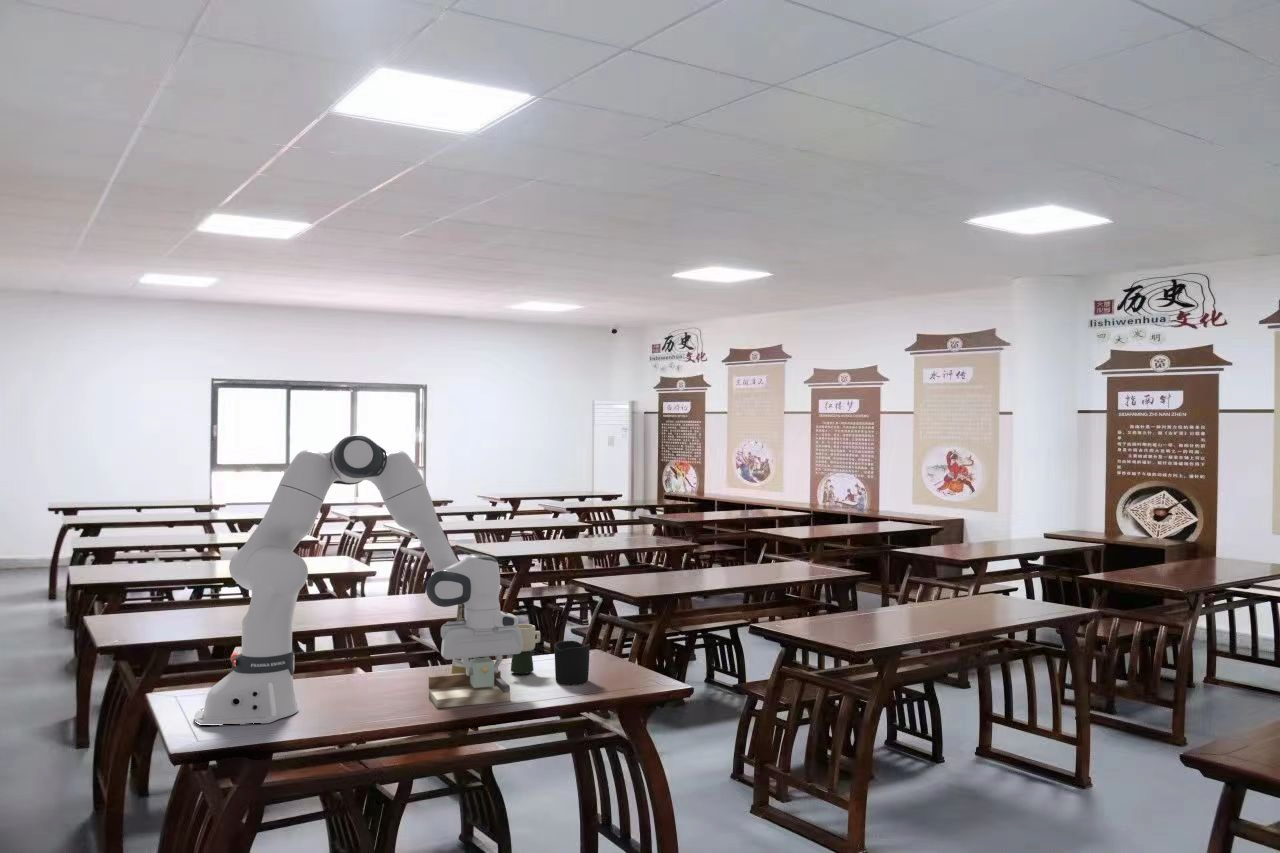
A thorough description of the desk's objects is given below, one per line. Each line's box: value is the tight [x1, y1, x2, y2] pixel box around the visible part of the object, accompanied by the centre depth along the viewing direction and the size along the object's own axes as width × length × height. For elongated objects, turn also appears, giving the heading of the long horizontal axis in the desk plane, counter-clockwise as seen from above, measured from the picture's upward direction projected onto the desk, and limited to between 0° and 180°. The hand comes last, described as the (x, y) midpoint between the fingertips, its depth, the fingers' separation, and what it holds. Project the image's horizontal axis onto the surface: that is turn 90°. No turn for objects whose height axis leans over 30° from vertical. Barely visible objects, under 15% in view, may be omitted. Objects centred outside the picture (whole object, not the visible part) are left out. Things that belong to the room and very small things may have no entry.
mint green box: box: [470, 657, 495, 688], centre depth 242 cm, size 5×6×6 cm
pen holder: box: [553, 640, 591, 686], centre depth 258 cm, size 9×9×10 cm
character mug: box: [510, 623, 541, 675], centre depth 267 cm, size 11×7×13 cm, turn 121°
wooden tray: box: [428, 669, 511, 709], centre depth 240 cm, size 18×12×5 cm, turn 112°
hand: (482, 674), depth 243 cm, fingers closed on mint green box, 5 cm apart
